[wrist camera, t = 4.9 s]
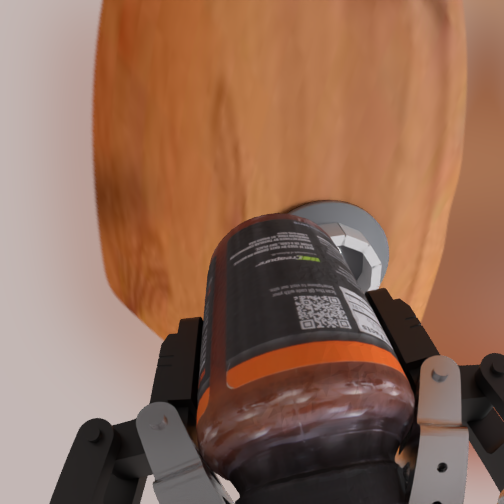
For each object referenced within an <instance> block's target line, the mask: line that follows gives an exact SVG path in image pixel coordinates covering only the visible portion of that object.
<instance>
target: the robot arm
mask: <svg viewBox="0 0 504 504" xmlns="http://www.w3.org/2000/svg"><path fill="white" fill-rule="evenodd" d="M364 295H365V297H366V299H367V300H368V302H369V304H370V306H371V308H372V310H373V312H374V313H375V315H376V317H377V319H378V321H379V323H380V325H381V327H382V329H383V330H384V332H385V334H386V336H387V338H388V340H389V342H390V344H391V346H392V348H393V350H394V352H395V354H396V356H397V358H398V361H399V363H400V365H401V367H402V369H403V371H404V373H405V375H406V377H407V379H408V381H409V383H410V386H411V389H412V391H413V394H414V398H415V411H414V418H413V423H412V426H411V428H410V430H409V432H408V433H407V435H406V436H405V438H404V439H403V440H402V442H401V443H400V446H399V448H398V451H397V453H396V456H395V462H396V463H397V464H399V465H400V467H401V468H403V470H404V472H403V475H404V478H405V482H406V488H405V489H406V493H405V503H404V504H463V502H464V493H465V485H466V476H467V464H468V446H469V441H470V443H471V444H472V446H473V448H474V449H475V451H476V452H477V454H478V456H479V457H480V459H481V460H482V462H483V464H484V465H485V467H486V469H487V470H488V472H489V474H490V475H491V477H492V479H493V481H494V482H495V484H496V486H497V487H498V489H499V491H500V496H499V499H498V503H497V504H504V422H503V421H504V355H501V354H498V353H492V354H489V355H487V356H485V357H484V359H483V360H482V362H481V364H480V365H466V366H459V365H457V364H456V363H455V362H454V361H453V360H452V359H450V358H448V357H446V356H441V355H440V354H439V352H438V351H437V349H436V347H435V346H434V344H433V342H432V341H431V339H430V337H429V336H428V334H427V332H426V331H425V329H424V328H423V326H421V323H420V321H419V320H418V318H416V315H415V313H414V312H413V310H412V309H411V307H410V306H409V305H408V304H406V303H405V302H403V301H402V300H401V299H395V300H393V299H392V297H391V296H390V294H389V292H388V291H387V290H386V289H385V288H381V289H376V290H371V291H366V292H365V294H364ZM202 329H203V320H202V318H201V317H195V318H186V319H181V320H180V323H179V328H178V333H177V334H169V335H168V336H167V338H166V339H165V341H164V342H163V343H162V345H161V350H160V354H159V359H158V364H157V369H156V374H155V378H154V384H153V389H152V394H151V400H150V403H149V405H147V406H146V407H144V408H143V409H142V410H141V411H140V412H139V414H138V416H137V418H136V419H134V420H131V421H128V422H124V423H120V424H117V425H113V426H112V425H111V424H110V423H109V422H108V421H106V420H104V419H101V418H95V419H91V420H89V421H87V422H85V423H84V424H83V425H82V426H81V427H80V429H79V431H78V433H77V435H76V438H75V440H74V442H73V445H72V447H71V450H70V452H69V454H68V457H67V459H66V462H65V464H64V467H63V469H62V472H61V474H60V477H59V480H58V482H57V485H56V487H55V490H54V493H53V495H52V498H51V501H50V504H140V501H141V497H142V494H143V490H144V487H145V483H146V479H147V476H148V475H152V474H154V477H155V482H153V488H154V492H155V494H156V497H157V499H158V501H159V504H235V503H234V502H233V500H232V499H231V497H230V496H229V495H228V493H227V491H226V490H225V488H224V487H223V485H222V484H221V482H220V480H219V478H218V477H217V475H216V473H215V472H213V471H212V470H211V469H210V468H209V466H208V465H207V464H206V463H205V461H204V459H203V458H202V456H201V454H200V451H199V448H198V442H197V432H196V424H197V408H198V401H197V394H198V380H199V370H200V355H201V342H202ZM493 407H494V408H495V410H496V411H497V412H498V413H499V415H500V416H499V415H498V414H497V412H496V411H495V410H494V408H493ZM500 417H501V418H502V419H503V421H502V419H501V418H500Z"/></svg>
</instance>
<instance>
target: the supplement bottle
mask: <svg viewBox="0 0 504 504" xmlns="http://www.w3.org/2000/svg"><path fill="white" fill-rule="evenodd" d="M197 401H198V408H197V424H196V432H197V442H198V448H199V451H200V454H201V456H202V458H203V459H204V461H205V463H206V464H207V465H208V466H209V468H210V469H211V470H212V471H213V472H215V473H217V474H218V475H220V476H221V477H222V478H225V479H226V480H229V481H231V483H232V484H233V485H234V487H235V488H236V490H237V491H238V492H239V494H240V498H239V499H238V500H237V501H236V502H235V504H404V503H405V493H406V489H405V488H406V482H405V478H404V475H403V472H404V470H403V468H401V467H400V465H399V464H397V463H396V462H395V456H396V453H397V451H398V448H399V446H400V443H401V442H402V440H403V439H404V438H405V436H406V435H407V433H408V432H409V430H410V428H411V426H412V423H413V418H414V411H415V398H414V394H413V391H412V389H411V386H410V383H409V381H408V379H407V377H406V375H405V373H404V371H403V369H402V367H401V365H400V363H399V361H398V358H397V356H396V354H395V352H394V350H393V348H392V346H391V344H390V342H389V340H388V338H387V336H386V334H385V332H384V330H383V329H382V327H381V325H380V323H379V321H378V319H377V317H376V315H375V313H374V312H373V310H372V308H371V306H370V304H369V302H368V300H367V299H366V297H365V295H364V293H363V291H362V290H361V288H360V286H359V284H358V282H357V281H356V279H355V277H354V275H353V273H352V272H351V270H350V268H349V266H348V265H347V263H346V261H345V259H344V258H343V256H342V254H341V253H340V251H339V249H338V248H337V246H336V245H335V244H334V242H333V241H332V239H331V237H330V236H329V235H328V234H327V233H326V232H325V231H324V230H323V229H322V228H321V227H319V226H318V225H317V224H315V223H314V222H312V221H310V220H309V219H306V218H302V217H299V216H296V215H291V214H279V213H275V214H267V215H262V216H259V217H254V218H252V219H249V220H247V221H245V222H243V223H241V224H239V225H238V226H237V227H235V228H234V229H232V230H231V231H230V232H229V233H228V234H227V235H226V236H225V237H224V238H223V239H222V240H221V242H220V243H219V244H218V246H217V247H216V249H215V251H214V253H213V255H212V258H211V262H210V266H209V271H208V276H207V288H206V296H205V310H204V320H203V329H202V342H201V355H200V370H199V380H198V394H197Z"/></svg>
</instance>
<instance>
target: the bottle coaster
mask: <svg viewBox="0 0 504 504" xmlns="http://www.w3.org/2000/svg"><path fill="white" fill-rule="evenodd" d="M287 214H291V215H296V216H299V217H302V218H306V219H309V220H310V221H312V222H314V223H315V224H317V225H318V226H319V227H321V228H322V229H323V230H324V231H325V232H326V233H327V234H328V235H329V236H330V237H331V239H332V241H333V242H334V244H335V245H336V246H337V248H338V249H339V251H340V253H341V254H342V256H343V258H344V259H345V261H346V263H347V265H348V266H349V268H350V270H351V272H352V273H353V275H354V277H355V279H356V281H357V282H358V284H359V286H360V288H361V290H362V291H363V293H364V294H365V292H366V291H371V290H376V289H378V288H379V286H380V284H381V282H382V280H383V278H384V275H385V273H386V270H387V266H388V261H389V247H388V242H387V238H386V235H385V233H384V231H383V229H382V228H381V226H380V225H379V223H378V222H377V221H376V220H375V219H374V218H373V217H372V216H371V215H370V214H369V213H368V212H366V211H365V210H364V209H362V208H360V207H358V206H356V205H354V204H351V203H348V202H343V201H336V200H324V201H317V202H312V203H308V204H305V205H302V206H300V207H298V208H296V209H293V210H291V211H290V212H288V213H287Z"/></svg>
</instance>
